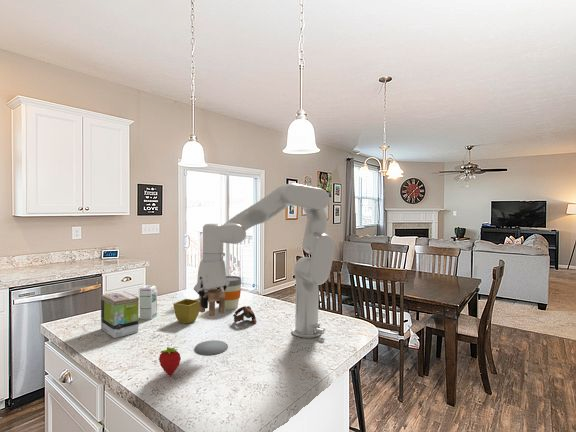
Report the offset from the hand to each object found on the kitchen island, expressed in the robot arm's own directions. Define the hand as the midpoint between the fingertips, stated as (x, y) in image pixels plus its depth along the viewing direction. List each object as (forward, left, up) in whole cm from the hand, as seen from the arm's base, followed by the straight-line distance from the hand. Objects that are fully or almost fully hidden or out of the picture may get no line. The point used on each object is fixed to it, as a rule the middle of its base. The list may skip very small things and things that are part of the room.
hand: (212, 305), depth 124 cm
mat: (0, 0, -16) cm, 16 cm away
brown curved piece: (+11, -27, -16) cm, 33 cm away
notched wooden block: (0, 0, -3) cm, 3 cm away
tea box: (+42, +15, -16) cm, 47 cm away
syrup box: (+49, -1, -16) cm, 51 cm away
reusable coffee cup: (+34, -37, -16) cm, 52 cm away
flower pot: (+31, -10, -16) cm, 36 cm away
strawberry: (-7, +21, -16) cm, 28 cm away
